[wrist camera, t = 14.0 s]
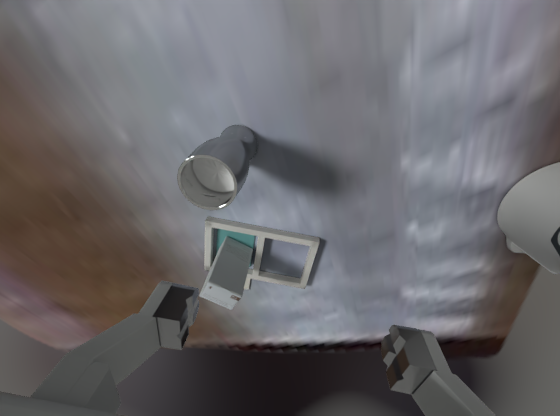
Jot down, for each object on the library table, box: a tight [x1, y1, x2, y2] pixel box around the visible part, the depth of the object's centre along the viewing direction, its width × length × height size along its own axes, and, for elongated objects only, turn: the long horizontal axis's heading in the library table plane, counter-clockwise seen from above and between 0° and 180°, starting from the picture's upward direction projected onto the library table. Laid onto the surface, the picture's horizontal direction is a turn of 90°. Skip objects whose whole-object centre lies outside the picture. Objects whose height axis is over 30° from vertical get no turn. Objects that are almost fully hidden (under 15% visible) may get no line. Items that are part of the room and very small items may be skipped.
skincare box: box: [199, 236, 253, 310], centre depth 46 cm, size 6×4×12 cm
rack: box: [204, 217, 320, 290], centre depth 52 cm, size 21×17×2 cm
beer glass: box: [177, 125, 258, 210], centre depth 34 cm, size 7×7×15 cm
